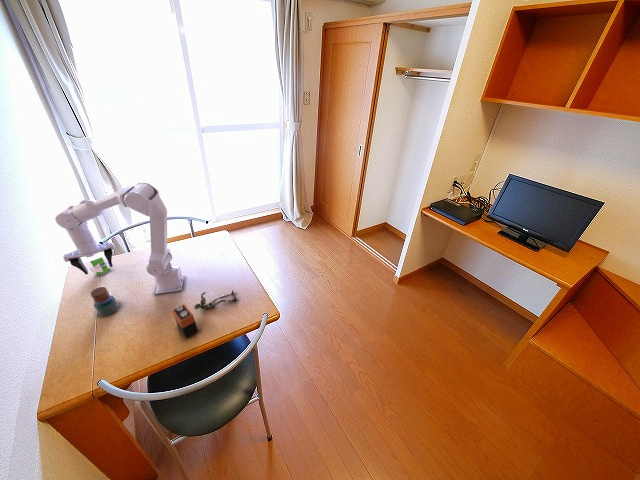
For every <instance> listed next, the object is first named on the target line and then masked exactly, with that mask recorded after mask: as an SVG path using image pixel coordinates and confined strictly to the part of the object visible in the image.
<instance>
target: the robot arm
mask: <svg viewBox="0 0 640 480" xmlns="http://www.w3.org/2000/svg"><path fill="white" fill-rule="evenodd" d="M118 205H121V206H123V207H124V208H129V209H130V210H133V211H135V212H137V213H140V214H142V215H144V216H145V217H149V230H150V231H149V233H150V256H149V259H148V263H147V265H146V268H145V269H146V272H147V273H148V274H149V275H150V276H153V278H154V281H155V284H156V290H155V294H156V295H159V294H165V293H172V292H178V291H182V289H183V285H184V276H183V273H182V270H181V267H180V266H179V265H178V266H175V265H172V262H171V261H172V260H173V255H172V253H171V249H170V247H168V208H167V206H166V205H165V203H164V201H163V200H162V198H161V197H160V191H159V189H158V188H157V187H155V186H153V185H152V184H151V183H149V182H146V181H140V182H138V183H137V184H130V185H127V186H126V187H123V188H120V189H119V190H117V191H115V192H113V193H111V194H109V195H106V196H104V197H102V198H100V199H97V200H95V199H82V200H80V201H79V203H78V204H76V205H70V206H68V207H67V208H65V209H64V210H63V211H61V212H60V213H58V214H57V215H56V216H55V222H56V224H57V225H58V226H59V227H61V228H63V229H65V230H66V232H67V234H68V235H69V237H70V239H71V242H72V243H73V244H74V247H75V248H76V250H74V251H71V252H69V253H66V254H63V255H62V258H63V261H64V262H65V263H68V262H69V263H70V265H71V266H73V267H75V268H76V269H79V270H80V271H81V272H83V273H84V275H89V270H88V268H87V267H86V265H85V264H84V262H83V261H82V258H85V257H86V258H91V257H93V256H95V255H96V254H99V253H102V252H103V255H104V257H105V258H106V259H105V260H106V261H108V262H109V264H108V266H109V268H113V267H114V266H113V261H112V259H113V250H116V247H115V244H114V243H113V242H110V243H101V244H98V243H97V241H96V239H95V237H94V235H93V233H92V231H91V230H90V227H89V225H88V221H90V220H92V219H95V218H97V217H100V216H102V215H103V213H104V210H107V209H110V208H112V207H115V206H118Z"/></svg>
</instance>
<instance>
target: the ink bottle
mask: <svg viewBox="0 0 640 480" xmlns="http://www.w3.org/2000/svg"><path fill="white" fill-rule="evenodd" d="M119 307H120V304H119V302H118V301H117V299H116V297H115V296H114V295H111V294H110V297H109V298H108V299H107V300H105V301H103V302H95V301H94V300H93V308H94V309H95V312H96V313H97V314H98V315H99V316H101V317H106V316H110V315H113V314H114V313H115V312H116V311H117V310H119Z"/></svg>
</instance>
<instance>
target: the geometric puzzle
mask: <svg viewBox="0 0 640 480" xmlns="http://www.w3.org/2000/svg"><path fill="white" fill-rule="evenodd" d="M89 265H92V266H90V269H89V270H90V272H93V273H94V274H96V275H97V276H100V275H103V274H105V273H108V272H110V271H111V269H110V268H109V266H108V265H109V262H108V260H106V261H105V258H104V257H103V256H101V257H99V258H95V259H93V260H90V261H89Z"/></svg>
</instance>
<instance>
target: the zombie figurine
mask: <svg viewBox="0 0 640 480" xmlns="http://www.w3.org/2000/svg"><path fill="white" fill-rule="evenodd" d="M206 294H207V291H203V292H202V293H200V298H201V299H200V303H196V304H194V306H193V307H194V309H195V310H199V309H201V310H208V309H211V308H215V306H217V305H219V304H220V303H223V302H224V303H226V302H237V296H236V295H235V293H234V290H231V293H230V294H223V295H220V296H218V297H215V298H213V299H211V300H210V301H209V303H208V304H206V303H207V299H206V297H204V295H206ZM230 296H234V297H233V299H225V298H227V297H230Z"/></svg>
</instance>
